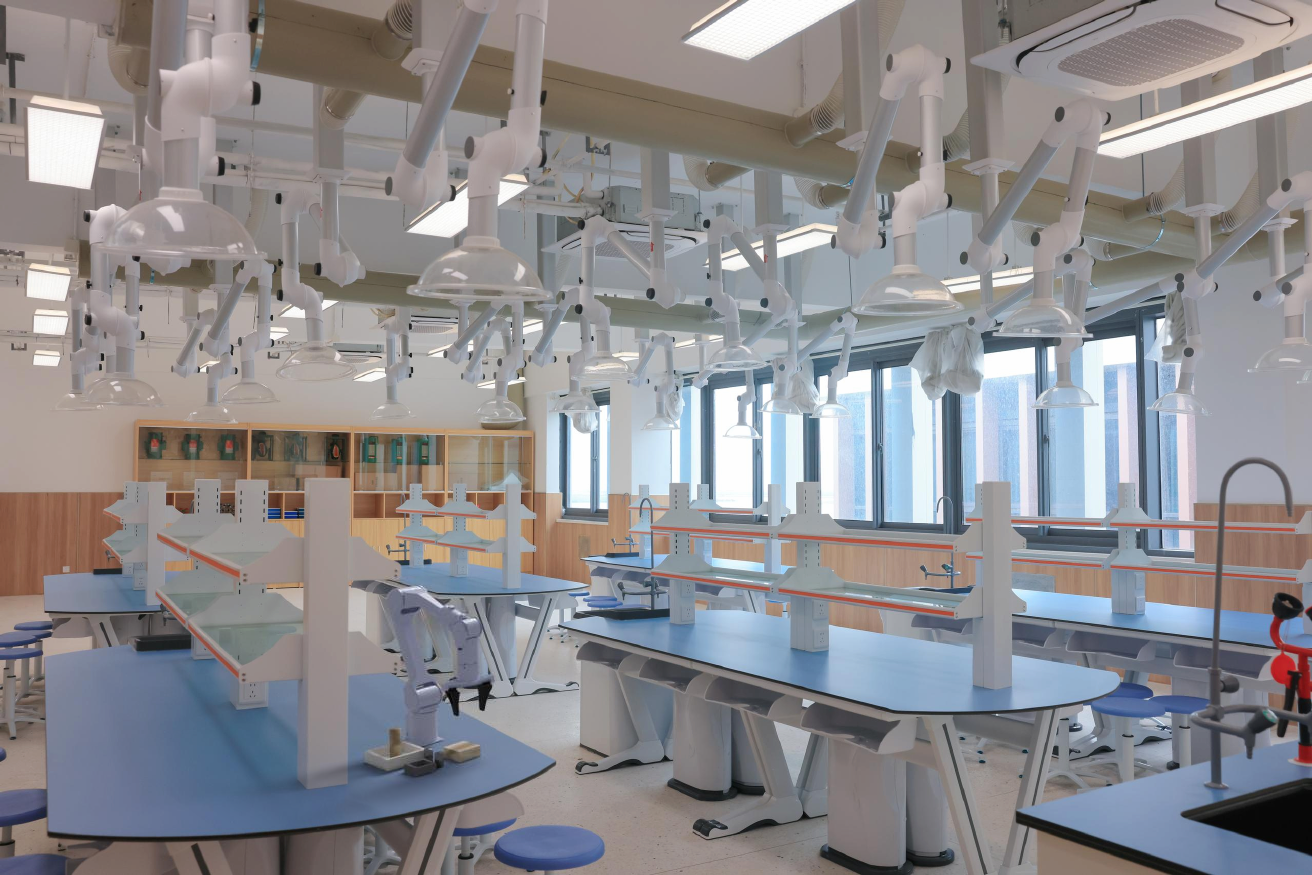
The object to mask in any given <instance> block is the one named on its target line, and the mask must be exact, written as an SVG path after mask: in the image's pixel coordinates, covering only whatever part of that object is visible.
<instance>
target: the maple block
mask: <svg viewBox="0 0 1312 875" xmlns="http://www.w3.org/2000/svg"><path fill="white" fill-rule="evenodd" d="M481 750H482V749H481V745H480V744H477V743H473V742H470V741H466V740H462V741H458V742H455V743H452V744H450V745H449V744H448V745H447V746H443V747H442V752H444V759H447V760H452V761H454V762H458V763H462V762H464V761H469V760H471V759H475V758H477V757H479V756H481V755H482V751H481Z"/></svg>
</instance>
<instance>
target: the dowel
mask: <svg viewBox="0 0 1312 875" xmlns="http://www.w3.org/2000/svg"><path fill="white" fill-rule="evenodd" d="M388 734H389V735H388V736H389V740H388V741H389V744H390V758H393V757H396V756H400V755H402V751H401V741H402V728H401V727H397V726H396V727H391V728H389V732H388Z"/></svg>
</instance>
